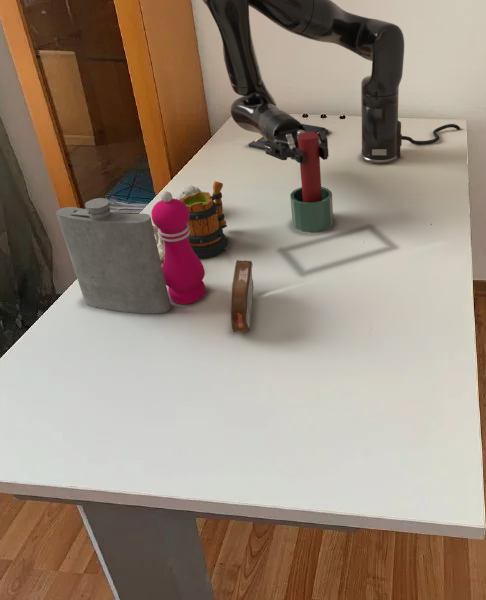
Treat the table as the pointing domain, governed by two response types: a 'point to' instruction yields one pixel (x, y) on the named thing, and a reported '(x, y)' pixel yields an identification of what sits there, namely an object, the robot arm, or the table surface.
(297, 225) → the tumbler
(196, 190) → the frog figurine
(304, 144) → the candle
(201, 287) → the pepper mill
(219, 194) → the mug
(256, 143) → the wallet
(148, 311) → the hip flask
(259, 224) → the table surface
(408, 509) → the table surface
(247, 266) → the tin
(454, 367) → the table surface
